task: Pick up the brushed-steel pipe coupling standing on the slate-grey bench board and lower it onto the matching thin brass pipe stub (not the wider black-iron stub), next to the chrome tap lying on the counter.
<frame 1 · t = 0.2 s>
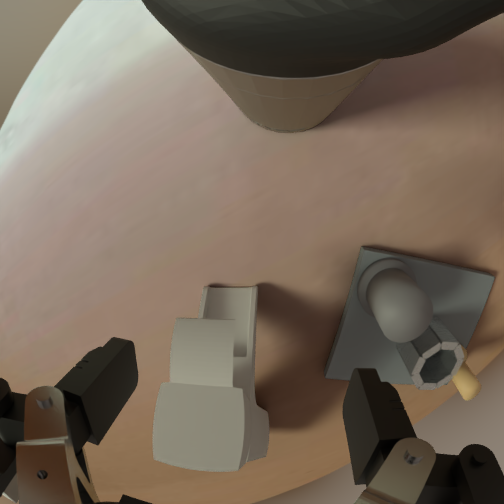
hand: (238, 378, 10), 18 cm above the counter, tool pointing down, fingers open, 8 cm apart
skincare box: (25, 455, 51), on the counter
bench board: (412, 324, 28), on the counter
faucet: (239, 363, 32), on the counter
coupling: (420, 339, 27), point 1 cm above the counter, touching bench board
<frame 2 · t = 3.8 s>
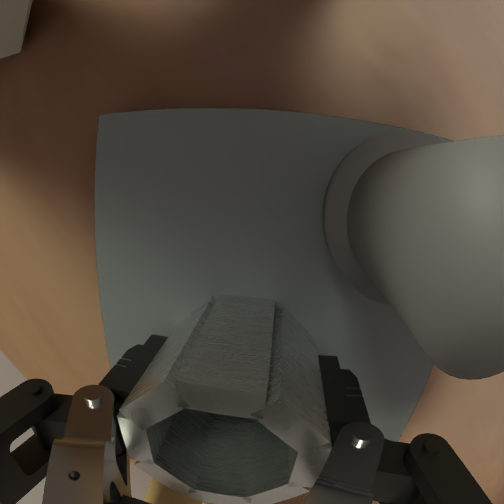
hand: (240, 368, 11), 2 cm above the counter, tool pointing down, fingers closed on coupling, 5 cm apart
bench board: (273, 326, 12), on the counter
coupling: (243, 361, 11), point 1 cm above the counter, touching bench board, gripper
when the fingers open (4 cm above the counter, at t = 7.9 s): coupling drops 1 cm, resting on bench board.
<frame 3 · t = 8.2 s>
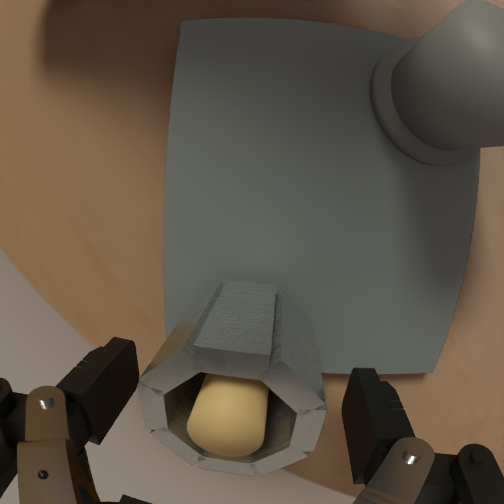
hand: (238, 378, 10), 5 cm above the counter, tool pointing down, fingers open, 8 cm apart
bench board: (329, 200, 13), on the counter
coupling: (247, 341, 13), point 2 cm above the counter, touching bench board
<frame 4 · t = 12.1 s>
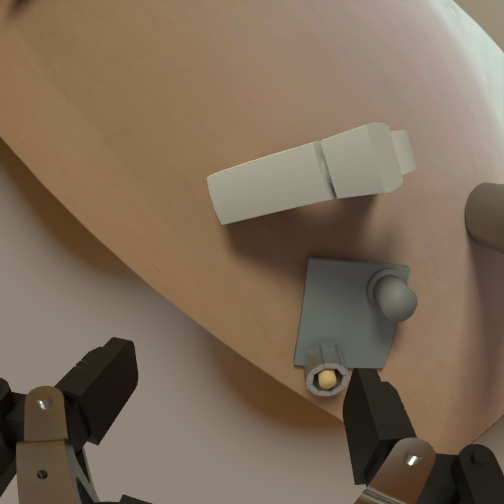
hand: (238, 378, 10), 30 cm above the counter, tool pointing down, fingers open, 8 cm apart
bench board: (349, 316, 41), on the counter
faucet: (303, 174, 38), on the counter
coupling: (323, 359, 41), point 2 cm above the counter, touching bench board
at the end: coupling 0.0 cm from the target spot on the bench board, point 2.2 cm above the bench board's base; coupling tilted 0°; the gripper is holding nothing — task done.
